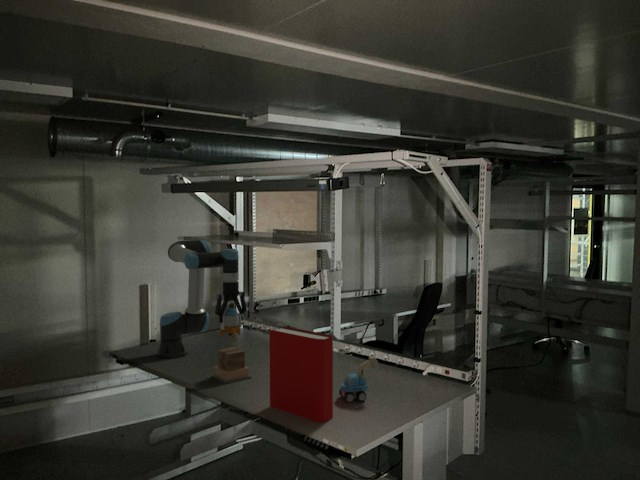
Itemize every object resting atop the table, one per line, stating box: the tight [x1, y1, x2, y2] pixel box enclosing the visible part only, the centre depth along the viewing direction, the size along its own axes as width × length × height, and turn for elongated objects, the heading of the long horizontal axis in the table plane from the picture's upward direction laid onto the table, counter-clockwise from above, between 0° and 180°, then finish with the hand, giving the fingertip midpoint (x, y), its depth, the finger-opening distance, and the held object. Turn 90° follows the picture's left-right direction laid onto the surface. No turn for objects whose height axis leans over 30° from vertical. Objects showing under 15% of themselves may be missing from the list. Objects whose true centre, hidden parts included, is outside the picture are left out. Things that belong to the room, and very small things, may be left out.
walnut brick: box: [217, 346, 246, 371], centre depth 244 cm, size 10×9×8 cm
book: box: [269, 325, 334, 424], centre depth 201 cm, size 27×8×32 cm, turn 51°
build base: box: [211, 365, 252, 385], centre depth 245 cm, size 14×14×5 cm
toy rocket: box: [219, 307, 241, 341], centre depth 242 cm, size 10×11×15 cm
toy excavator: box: [338, 356, 379, 403], centre depth 216 cm, size 9×17×17 cm, turn 107°
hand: (231, 328), depth 243 cm, fingers closed on toy rocket, 8 cm apart
